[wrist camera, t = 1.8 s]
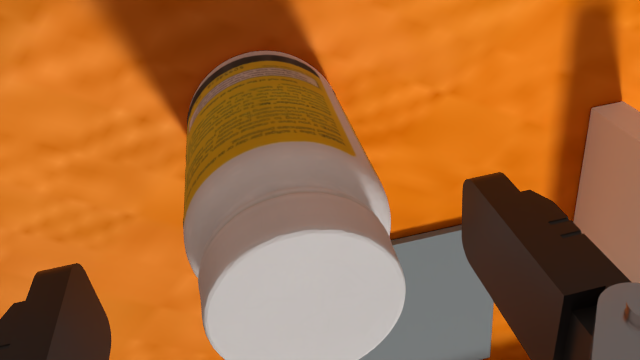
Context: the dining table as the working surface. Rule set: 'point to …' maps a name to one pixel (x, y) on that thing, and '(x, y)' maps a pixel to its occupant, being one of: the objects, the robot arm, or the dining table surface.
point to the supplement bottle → (285, 217)
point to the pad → (438, 303)
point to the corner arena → (612, 186)
